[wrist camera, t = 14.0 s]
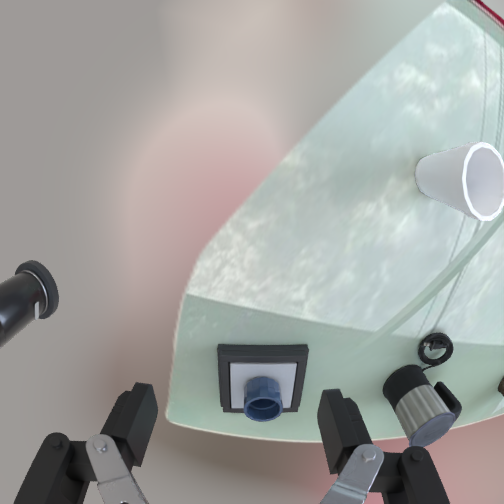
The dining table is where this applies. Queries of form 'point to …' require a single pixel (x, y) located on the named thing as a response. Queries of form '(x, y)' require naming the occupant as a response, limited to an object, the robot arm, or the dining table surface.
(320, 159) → the dining table surface
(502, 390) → the pillar candle
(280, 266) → the dining table surface
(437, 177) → the foam cup
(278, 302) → the dining table surface
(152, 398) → the robot arm
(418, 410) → the milk frother
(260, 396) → the blue cup
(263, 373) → the pan
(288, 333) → the dining table surface
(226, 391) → the scale
